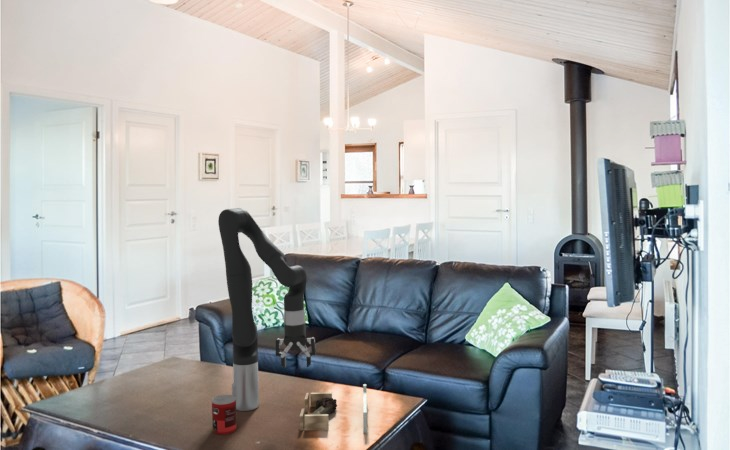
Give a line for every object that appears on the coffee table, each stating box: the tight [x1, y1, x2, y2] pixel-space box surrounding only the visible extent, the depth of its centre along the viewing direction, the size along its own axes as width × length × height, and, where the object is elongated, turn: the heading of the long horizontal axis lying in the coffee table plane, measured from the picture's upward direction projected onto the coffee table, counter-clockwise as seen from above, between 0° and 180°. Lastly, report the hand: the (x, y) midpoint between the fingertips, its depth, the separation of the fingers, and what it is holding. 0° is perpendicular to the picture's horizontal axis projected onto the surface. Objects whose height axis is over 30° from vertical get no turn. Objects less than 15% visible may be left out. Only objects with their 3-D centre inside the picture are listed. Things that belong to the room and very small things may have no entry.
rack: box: [362, 383, 368, 434], centre depth 197 cm, size 1×28×7 cm, turn 0°
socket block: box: [299, 391, 333, 431], centre depth 197 cm, size 10×22×5 cm, turn 0°
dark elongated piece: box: [310, 397, 338, 415], centre depth 197 cm, size 18×7×6 cm, turn 159°
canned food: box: [211, 394, 237, 436], centre depth 187 cm, size 8×8×11 cm
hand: (296, 366), depth 196 cm, fingers open, 8 cm apart
